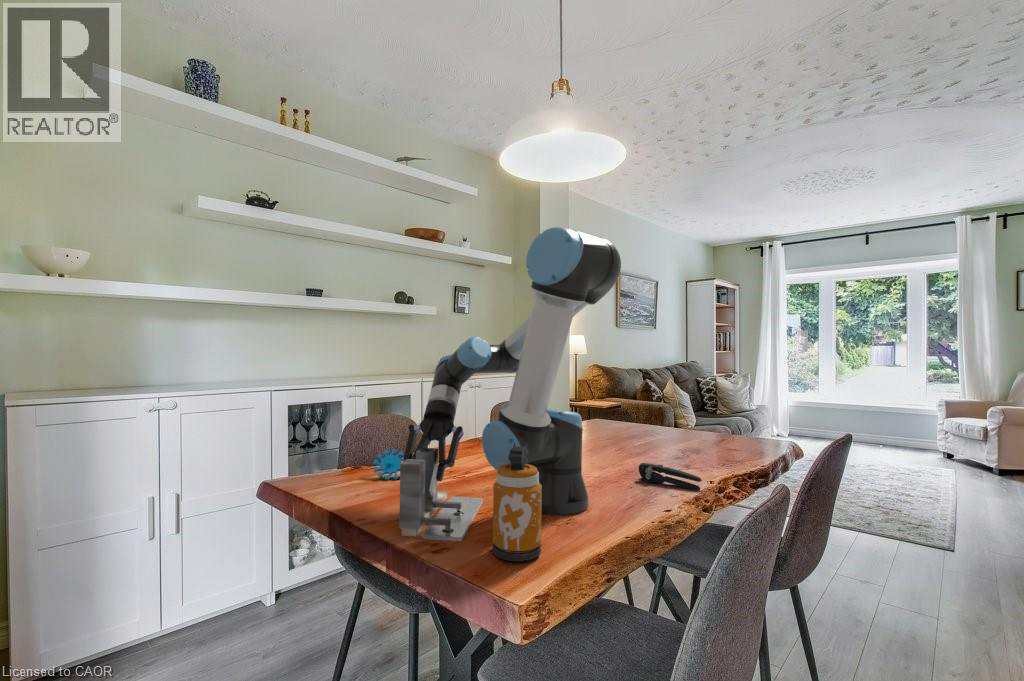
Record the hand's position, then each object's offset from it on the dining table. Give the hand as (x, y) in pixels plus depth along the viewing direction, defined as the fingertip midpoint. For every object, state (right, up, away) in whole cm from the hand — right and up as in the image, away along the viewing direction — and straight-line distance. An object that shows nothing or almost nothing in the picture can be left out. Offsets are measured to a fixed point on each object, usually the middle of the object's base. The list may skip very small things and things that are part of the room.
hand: (421, 492), depth 105 cm
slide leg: (+3, -5, +4) cm, 7 cm away
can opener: (+64, -8, +31) cm, 72 cm away
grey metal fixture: (+3, -6, +4) cm, 8 cm away
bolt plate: (+7, -6, +2) cm, 10 cm away
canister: (+21, -7, -15) cm, 26 cm away
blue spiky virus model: (-15, -7, +35) cm, 39 cm away
